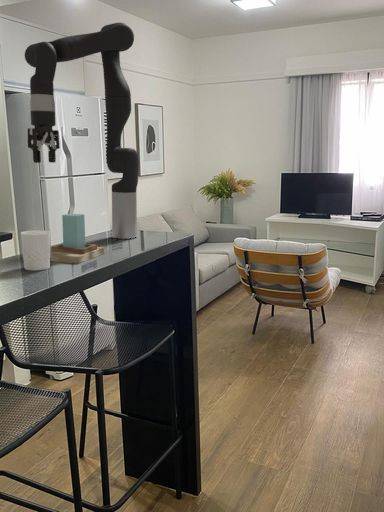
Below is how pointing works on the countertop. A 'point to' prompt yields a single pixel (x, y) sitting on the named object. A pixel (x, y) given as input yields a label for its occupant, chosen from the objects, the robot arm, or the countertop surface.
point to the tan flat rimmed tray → (75, 253)
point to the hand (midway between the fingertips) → (44, 162)
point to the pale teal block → (73, 230)
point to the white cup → (36, 249)
